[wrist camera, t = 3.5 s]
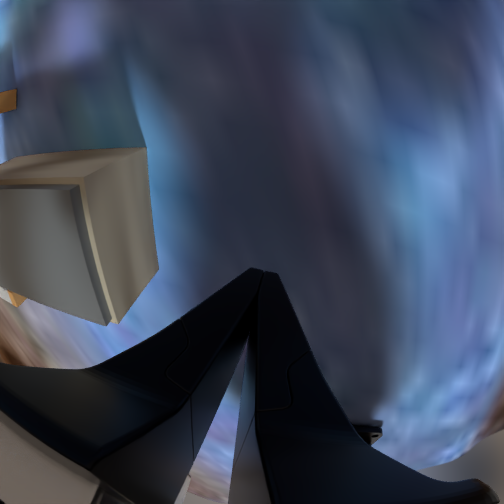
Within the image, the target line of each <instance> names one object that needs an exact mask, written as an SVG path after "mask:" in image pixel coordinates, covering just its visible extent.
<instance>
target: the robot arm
mask: <svg viewBox="0 0 504 504" xmlns="http://www.w3.org/2000/svg"><path fill="white" fill-rule="evenodd" d="M249 332H250V333H249ZM248 336H249V337H248ZM247 339H248V343H247V350H246V359H245V367H244V376H243V384H242V393H241V401H240V410H239V418H238V426H237V435H236V443H235V451H234V459H233V468H232V476H231V484H230V492H229V500H228V504H498V503H499V502H500V500H499V497H498V495H497V493H496V492H495V491H494V490H493V489H492V488H491V487H490V486H488V485H487V484H485V483H483V482H482V481H480V480H478V479H467V480H463V481H458V482H444V481H439V480H435V479H432V478H430V477H427V476H425V475H423V474H421V473H419V472H417V471H415V470H413V469H411V468H409V467H407V466H405V465H403V464H402V463H400V462H398V461H396V460H394V459H392V458H390V457H389V456H387V455H385V454H383V453H381V452H380V451H378V450H376V449H374V448H373V447H371V445H372V444H373V443H374V442H376V441H377V440H378V439H379V438H380V437H381V436H382V429H381V428H374V427H360V426H352V424H351V423H350V421H349V419H348V418H347V416H346V414H345V413H344V411H343V409H342V408H341V406H340V404H339V403H338V401H337V399H336V398H335V396H334V394H333V393H332V391H331V389H330V387H329V386H328V384H327V382H326V380H325V378H324V377H323V375H322V373H321V370H320V368H319V366H318V364H317V362H316V360H315V357H314V355H313V352H312V351H311V348H310V346H309V343H308V341H307V339H306V337H305V334H304V332H303V330H302V327H301V325H300V323H299V320H298V318H297V316H296V313H295V311H294V309H293V307H292V304H291V302H290V300H289V297H288V295H287V293H286V291H285V288H284V286H283V284H282V281H281V279H280V277H279V275H278V274H277V273H274V272H269V271H265V272H264V271H263V270H260V269H256V268H249V269H248V270H246V271H245V272H243V273H242V274H241V275H239V276H238V277H236V278H235V279H234V280H232V281H231V282H229V283H228V284H227V285H225V286H224V287H222V288H221V289H220V290H218V291H217V292H215V293H214V294H213V295H211V296H210V297H208V298H207V299H206V300H204V301H203V302H201V303H200V304H199V305H197V306H196V307H194V308H193V309H192V310H190V311H189V312H187V313H186V314H185V315H183V316H182V317H180V319H177V320H176V321H174V322H173V323H172V324H170V325H169V326H167V327H166V328H164V329H163V330H161V331H160V332H158V333H156V334H155V335H153V336H151V337H150V338H148V339H146V340H144V341H142V342H141V343H139V344H137V345H135V346H133V347H131V348H129V349H127V350H125V351H124V352H122V353H120V354H118V355H116V356H114V357H112V358H110V359H108V360H106V361H104V362H102V363H100V364H98V365H95V366H92V367H89V368H85V369H56V368H41V367H29V366H18V365H11V364H5V363H1V362H0V504H174V503H175V501H176V499H177V497H178V495H179V493H180V491H181V488H182V486H183V484H184V482H185V480H186V478H187V476H188V474H189V471H190V469H191V467H192V465H193V462H194V461H195V458H196V456H197V454H198V452H199V450H200V448H201V445H202V443H203V441H204V439H205V437H206V434H207V432H208V430H209V428H210V425H211V423H212V421H213V419H214V417H215V414H216V412H217V410H218V407H219V405H220V403H221V401H222V398H223V396H224V394H225V391H226V389H227V387H228V385H229V382H230V380H231V378H232V375H233V373H234V371H235V368H236V366H237V364H238V361H239V359H240V357H241V354H242V352H243V349H244V347H245V345H246V342H247Z"/></svg>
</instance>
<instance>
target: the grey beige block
mask: <svg viewBox="0 0 504 504" xmlns="http://www.w3.org/2000/svg"><path fill="white" fill-rule="evenodd" d="M158 270H159V265H158V258H157V251H156V244H155V236H154V228H153V219H152V210H151V199H150V188H149V176H148V162H147V147H135V148H106V149H89V150H75V151H63V152H53V153H43V154H35V155H27V156H19V157H15V158H13V159H11V160H8V161H6V162H4V163H2V164H0V286H1V287H3V288H5V289H7V290H10V291H12V292H14V293H16V294H19V295H21V296H24V297H26V298H28V299H31V300H33V301H36V302H38V303H41V304H43V305H46V306H49V307H51V308H54V309H57V310H59V311H62V312H65V313H68V314H70V315H73V316H76V317H79V318H82V319H85V320H88V321H91V322H94V323H97V324H100V325H103V326H107V325H108V323H109V322H112V323H116V324H119V323H120V321H121V320H122V318H123V317H124V316H125V314H126V313H127V312H128V310H129V309H130V307H131V306H132V305H133V303H134V302H135V301H136V299H137V298H138V297H139V295H140V294H141V292H142V291H143V290H144V288H145V287H146V286H147V284H148V283H149V282H150V281H151V279H152V278H153V277H154V275H155V274H156V273H157V271H158Z"/></svg>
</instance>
